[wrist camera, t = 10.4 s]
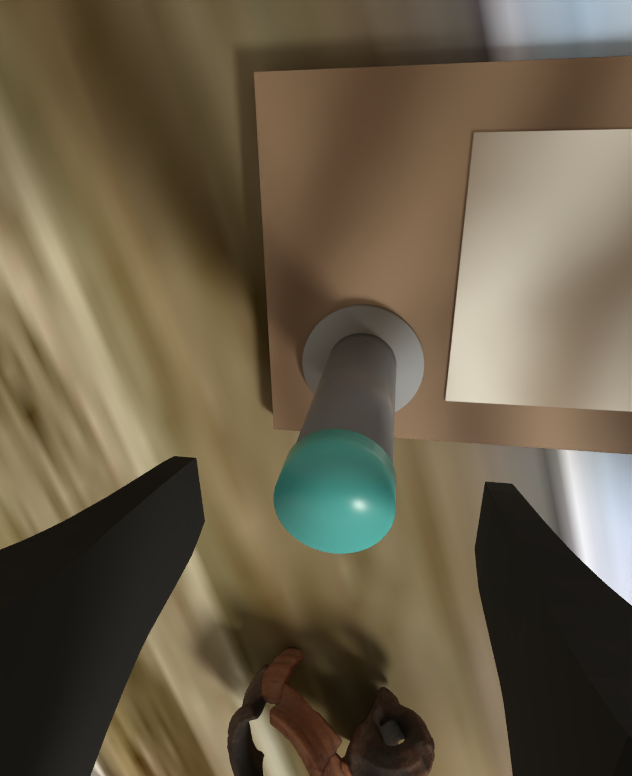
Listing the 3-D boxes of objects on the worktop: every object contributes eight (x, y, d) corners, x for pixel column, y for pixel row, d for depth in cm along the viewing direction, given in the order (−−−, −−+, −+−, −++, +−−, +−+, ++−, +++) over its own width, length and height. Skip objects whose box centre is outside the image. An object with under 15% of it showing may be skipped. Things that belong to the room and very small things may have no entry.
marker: (401, 332, 20) (398, 459, 11) (396, 400, 21) (392, 559, 13) (325, 329, 20) (270, 449, 12) (326, 396, 21) (276, 546, 13)
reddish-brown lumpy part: (328, 751, 35) (247, 852, 29) (282, 620, 36) (194, 687, 30) (485, 766, 28) (426, 903, 22) (422, 602, 29) (347, 685, 23)
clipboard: (872, 51, 15) (914, 41, 14) (720, 448, 21) (739, 467, 20) (261, 76, 18) (250, 70, 17) (278, 418, 24) (271, 433, 23)
